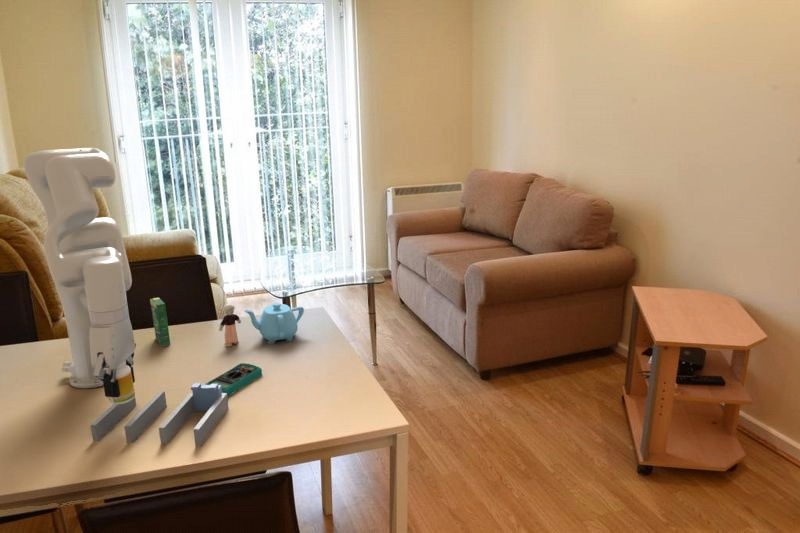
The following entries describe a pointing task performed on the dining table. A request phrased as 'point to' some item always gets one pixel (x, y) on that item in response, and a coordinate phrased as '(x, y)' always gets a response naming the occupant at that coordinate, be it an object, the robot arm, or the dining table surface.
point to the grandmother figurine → (230, 325)
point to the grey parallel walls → (196, 400)
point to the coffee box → (160, 321)
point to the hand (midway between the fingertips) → (120, 388)
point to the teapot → (277, 322)
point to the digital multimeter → (236, 377)
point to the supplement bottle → (123, 384)
